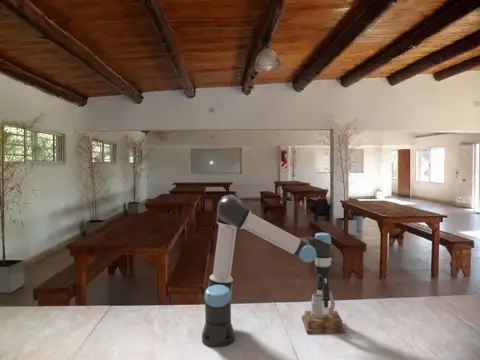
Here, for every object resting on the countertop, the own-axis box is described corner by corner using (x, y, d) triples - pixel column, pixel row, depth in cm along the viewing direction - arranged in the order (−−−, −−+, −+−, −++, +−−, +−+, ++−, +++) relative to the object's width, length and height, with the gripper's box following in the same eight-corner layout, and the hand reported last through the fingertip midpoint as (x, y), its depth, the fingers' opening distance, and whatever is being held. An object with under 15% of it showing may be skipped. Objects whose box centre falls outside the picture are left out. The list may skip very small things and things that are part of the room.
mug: (308, 312, 206) (309, 289, 205) (332, 311, 207) (332, 288, 206) (312, 319, 198) (312, 294, 197) (337, 318, 199) (337, 293, 198)
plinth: (307, 333, 194) (307, 323, 193) (301, 318, 212) (301, 308, 211) (345, 333, 194) (345, 323, 193) (337, 318, 212) (337, 308, 211)
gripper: (336, 272, 188) (336, 318, 190) (325, 258, 213) (325, 298, 214) (319, 272, 188) (319, 318, 190) (311, 258, 213) (310, 298, 215)
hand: (322, 308), depth 202 cm, fingers open, 13 cm apart
